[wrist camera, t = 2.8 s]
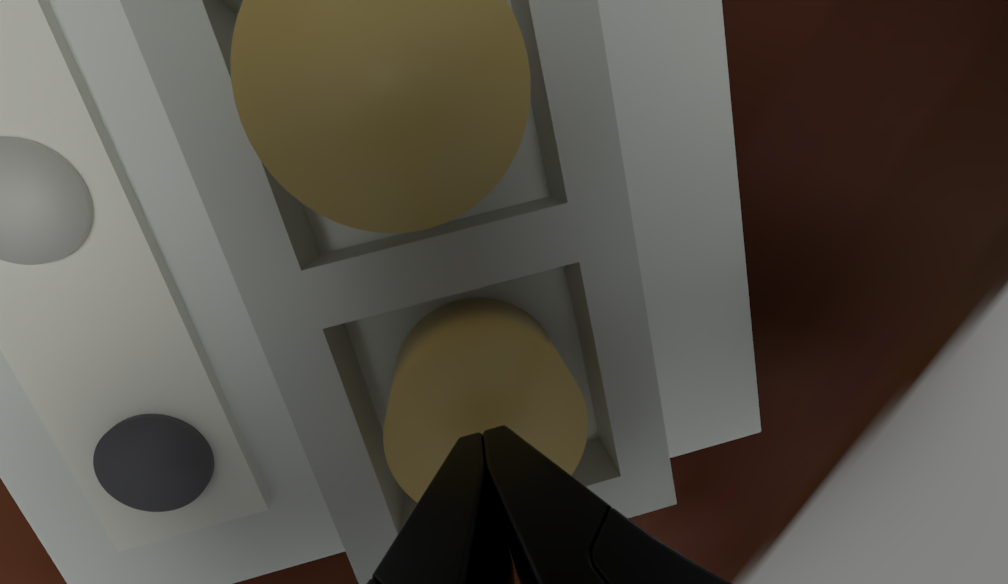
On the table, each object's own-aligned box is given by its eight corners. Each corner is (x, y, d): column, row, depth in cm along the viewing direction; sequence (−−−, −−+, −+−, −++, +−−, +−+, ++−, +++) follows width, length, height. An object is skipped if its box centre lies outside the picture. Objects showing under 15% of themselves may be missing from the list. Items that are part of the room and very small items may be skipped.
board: (637, -566, 9) (715, -852, 6) (739, 413, 15) (801, 466, 12) (-465, -383, 8) (-889, -636, 5) (117, 590, 14) (45, 688, 11)
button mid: (477, -36, 9) (493, -113, 6) (525, 185, 10) (555, 196, 7) (256, 14, 8) (179, -46, 6) (331, 234, 9) (292, 263, 7)
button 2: (538, 279, 11) (567, 314, 9) (570, 422, 12) (603, 491, 10) (373, 322, 11) (354, 371, 9) (421, 464, 12) (416, 545, 10)
